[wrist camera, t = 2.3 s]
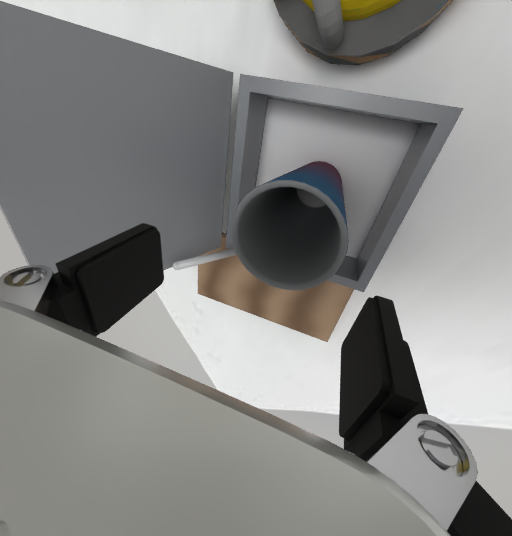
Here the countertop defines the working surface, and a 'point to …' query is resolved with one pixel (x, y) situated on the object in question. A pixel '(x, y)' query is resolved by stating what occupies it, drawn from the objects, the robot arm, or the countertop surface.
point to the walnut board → (273, 296)
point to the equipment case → (428, 115)
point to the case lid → (107, 140)
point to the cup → (293, 228)
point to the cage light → (357, 26)
